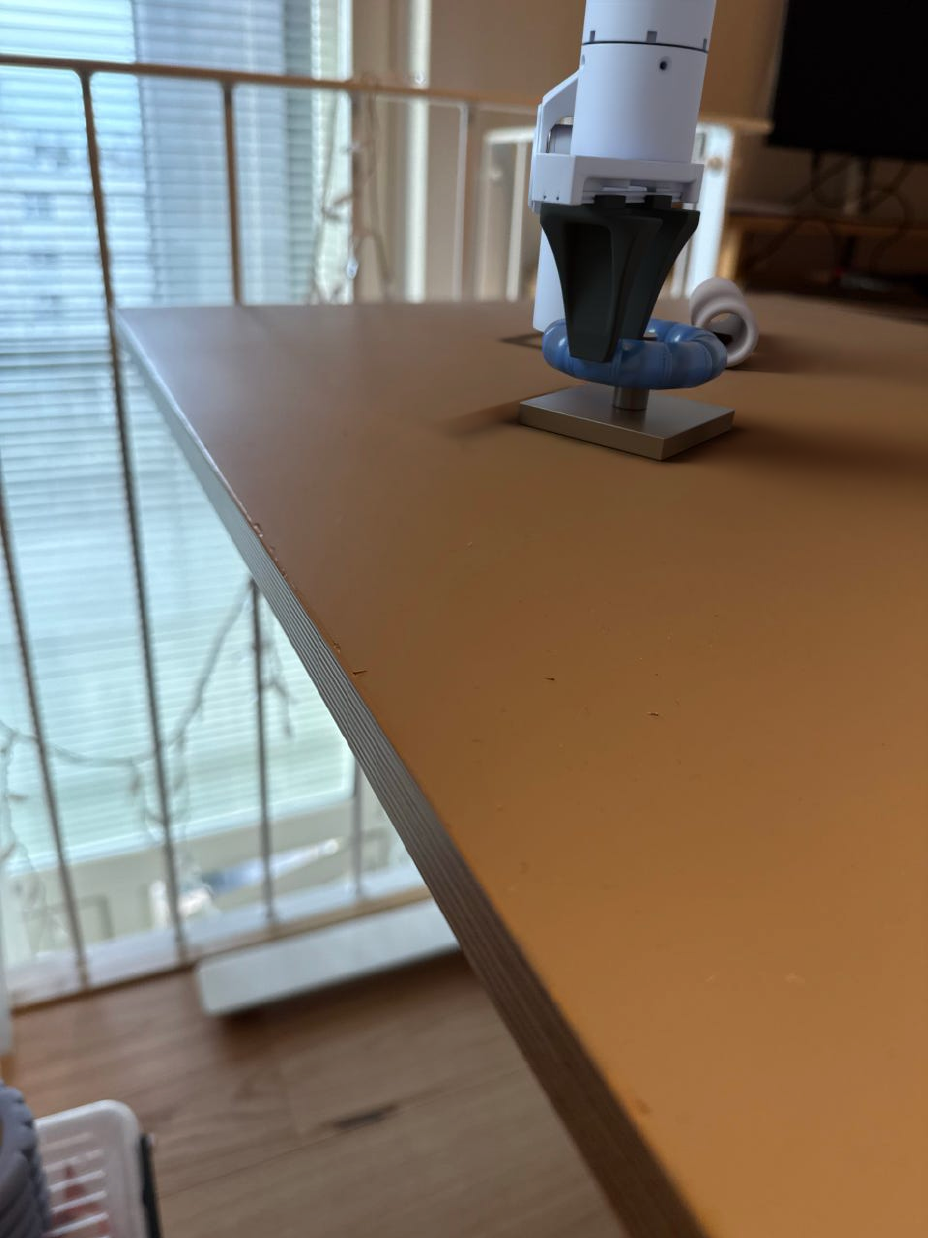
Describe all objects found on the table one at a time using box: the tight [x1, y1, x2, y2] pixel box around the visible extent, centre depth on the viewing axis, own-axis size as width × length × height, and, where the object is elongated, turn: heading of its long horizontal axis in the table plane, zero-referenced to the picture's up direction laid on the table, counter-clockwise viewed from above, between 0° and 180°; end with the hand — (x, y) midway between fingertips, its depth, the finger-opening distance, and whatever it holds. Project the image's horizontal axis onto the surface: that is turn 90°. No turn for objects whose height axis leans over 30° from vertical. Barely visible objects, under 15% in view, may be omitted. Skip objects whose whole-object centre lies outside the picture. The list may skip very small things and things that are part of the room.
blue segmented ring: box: [541, 317, 728, 391], centre depth 51 cm, size 10×10×2 cm
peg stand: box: [517, 331, 736, 461], centre depth 52 cm, size 9×9×5 cm
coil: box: [688, 276, 760, 369], centre depth 77 cm, size 5×5×18 cm
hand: (603, 355), depth 48 cm, fingers closed on blue segmented ring, 2 cm apart
